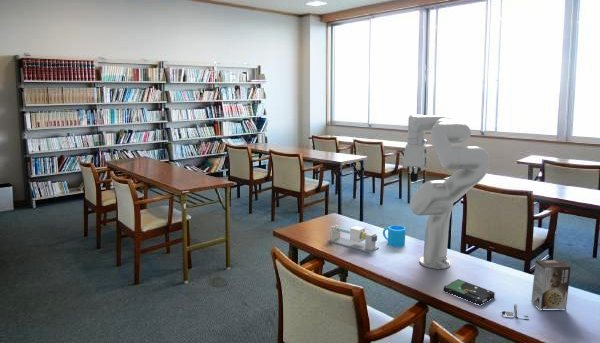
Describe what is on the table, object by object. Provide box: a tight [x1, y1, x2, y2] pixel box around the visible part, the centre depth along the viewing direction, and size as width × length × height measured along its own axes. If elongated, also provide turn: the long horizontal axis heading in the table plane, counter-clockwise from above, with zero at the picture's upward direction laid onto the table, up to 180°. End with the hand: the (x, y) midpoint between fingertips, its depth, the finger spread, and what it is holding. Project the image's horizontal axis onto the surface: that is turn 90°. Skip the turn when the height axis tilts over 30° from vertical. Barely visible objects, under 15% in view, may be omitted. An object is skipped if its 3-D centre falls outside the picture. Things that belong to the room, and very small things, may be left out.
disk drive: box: [442, 279, 496, 306], centre depth 167 cm, size 10×3×15 cm
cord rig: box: [327, 224, 380, 254], centre depth 217 cm, size 24×8×8 cm, turn 50°
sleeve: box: [349, 225, 366, 243], centre depth 215 cm, size 5×5×6 cm
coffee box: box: [530, 259, 572, 310], centre depth 157 cm, size 9×6×16 cm
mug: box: [382, 224, 407, 248], centre depth 220 cm, size 12×8×8 cm
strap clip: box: [501, 304, 518, 318], centre depth 151 cm, size 8×3×4 cm, turn 73°
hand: (413, 181), depth 211 cm, fingers closed
